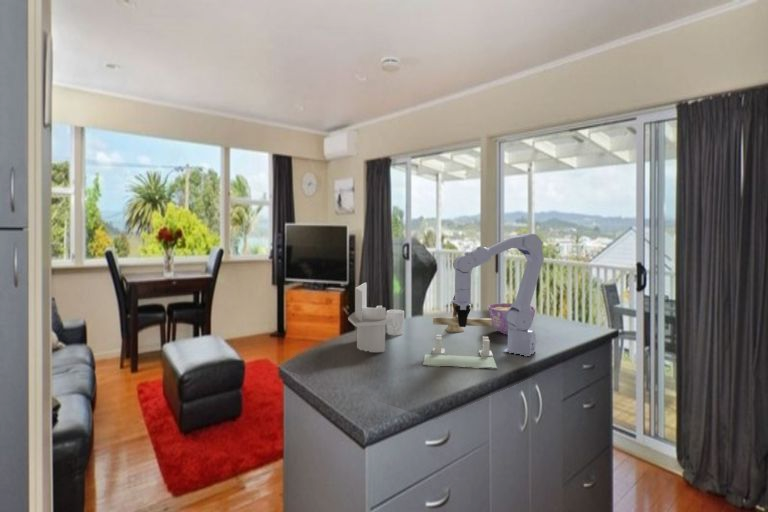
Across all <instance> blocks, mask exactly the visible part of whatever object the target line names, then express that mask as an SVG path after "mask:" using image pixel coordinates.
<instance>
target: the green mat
mask: <svg viewBox="0 0 768 512" xmlns="http://www.w3.org/2000/svg"><path fill="white" fill-rule="evenodd" d="M423 365H428V366H427V367H440V366H462V367H463V366H465V367H492V368H497V369H498V367H497V364H496V361H495V358H494V356H493V357H480V356H471V355H451V354H450V355H449V354H447V355H446V354H445V355H432V353H431V354H429V353H428V354H427V353H425V354H424V358H423V362H422V366H423ZM430 365H431V366H430Z"/></svg>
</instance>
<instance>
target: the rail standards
mask: <svg viewBox="0 0 768 512" xmlns="http://www.w3.org/2000/svg"><path fill="white" fill-rule="evenodd" d="M442 337H443V336H442V334H436V337H435V347H433V348H432V353H431V355H446V353H445V352H446V349H445V348H443V347H442V346H443V343H442V341H443V339H442ZM490 344H491V343H490V339H489V336H482V346H481V347H482V349H481V350H480V349H479V350H478V354H479V353H480V354H479V357H480V356H490V357H493V358H494V354H493V352H492V350H490V347H491V346H490Z"/></svg>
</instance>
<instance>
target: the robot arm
mask: <svg viewBox="0 0 768 512" xmlns="http://www.w3.org/2000/svg"><path fill="white" fill-rule="evenodd" d="M543 244H544V242H543V241H542V239H541V238H540V237H539V235H537V234H535V233H518V234H517V235H512V236H510V237H508V238H505V239H503V240H502V241H500V242H497V243H496V244H494V245H491V246H489V247H485V246H477V247H476V249H474V250H472V251H469V252H468V251H467V252H465V253H464V255H458V256H456V257H455V259H454V260H453V263H452V265H453V268H454V270H455V271H454V295H455V300H453V299H451V303H455V304H457V305H455V310H456V312H457V317H458V321H459V326H460V327H462V328H465V327H466V323H467V318H469V317H468V316H469V314H470V312H471V310H472V309H471V304H472V300H471V298H472V294H471V293H472V270H473V269H474V268H476V267H479V266H481V265H483V264H485V263H488V262H489V261H491V259H492V257H493V256H495V255H498V254H501V253H503V252H506V251H508V250H511V249H517V250H518V251H519V252H520V253H522V254H523V256H524V257H525V259H526V264H525V268H524V271H523V275H522V277H521V281H520V283H519V288H518V291H517V294H516V296H515V300H514V301H513V302H512V303H511V307H510V309H509V310H508V311H507V313H506V316H505V317H506V321H507V322H508V335H507V348H505V349H504V350H503V351H504V352H503V353H506V352H509V353H508V354H511V353H514V354H513V355H516V354H520V355H519V356H521V355H524V356H523V357H527V356H529V357H530V356H532V355H534V354H535V353H536V352H537V351H536V332H535V330H531V329H530V328H531V327H532V324H533V321H532V319H531V314H532V310H531V307H530V306H531V304H532V301H533V296H534V294H535V291H536V288H537V287H536V286H537V284H538V279H539V277H540V273H541V270H542V267H543V263H544V259H545V258H544V257H545V256H544V252H543ZM531 323H532V324H531ZM530 326H531V327H530ZM529 327H530V328H529ZM528 328H529V329H528ZM534 352H535V353H534ZM531 354H532V355H531Z"/></svg>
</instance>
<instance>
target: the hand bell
mask: <svg viewBox="0 0 768 512" xmlns="http://www.w3.org/2000/svg"><path fill="white" fill-rule="evenodd" d="M452 300H455V294H453V298H452ZM451 303H452V302H451ZM455 305H457V304H455V303H452V309H453V310H452V317H458V315H457V312H456V310H455ZM444 330H445V332H449V333H462V332H465V330H464V327H460V326H459V325H447V327H446V328H445V329H444Z"/></svg>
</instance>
